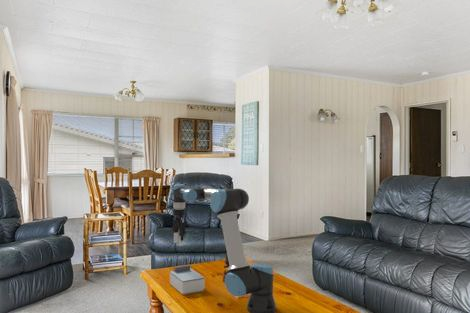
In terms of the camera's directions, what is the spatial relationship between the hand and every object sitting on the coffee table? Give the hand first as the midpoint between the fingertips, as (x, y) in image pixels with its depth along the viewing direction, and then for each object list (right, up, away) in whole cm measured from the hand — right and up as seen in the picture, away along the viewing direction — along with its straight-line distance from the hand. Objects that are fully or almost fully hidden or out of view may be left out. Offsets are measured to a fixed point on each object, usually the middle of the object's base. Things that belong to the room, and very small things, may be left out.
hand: (178, 244), depth 231 cm
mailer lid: (+7, -16, -12) cm, 21 cm away
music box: (+34, -24, +2) cm, 42 cm away
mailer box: (+7, -23, -12) cm, 27 cm away
